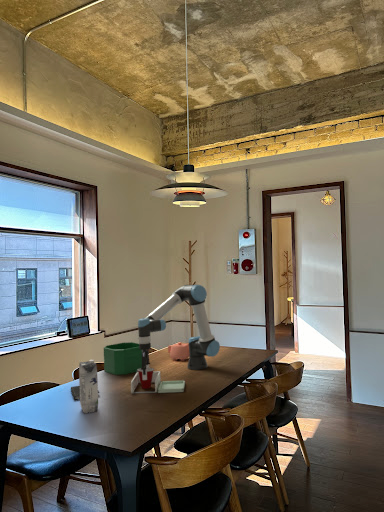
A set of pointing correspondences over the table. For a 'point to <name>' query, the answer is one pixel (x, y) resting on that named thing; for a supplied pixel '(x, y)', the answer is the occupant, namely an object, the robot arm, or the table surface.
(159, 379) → the frame
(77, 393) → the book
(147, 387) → the plastic cup
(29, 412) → the table surface
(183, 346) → the teapot
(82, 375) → the juice carton
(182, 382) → the tray
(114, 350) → the planter
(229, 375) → the table surface
